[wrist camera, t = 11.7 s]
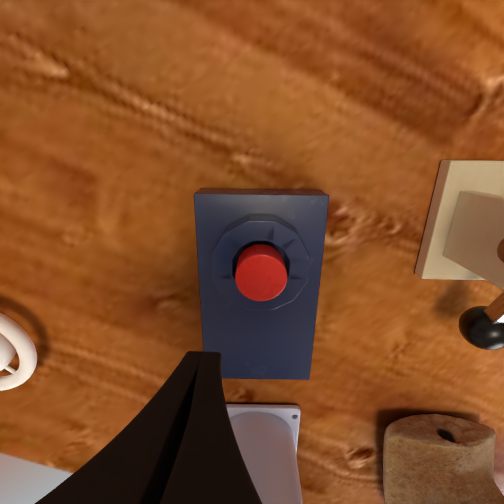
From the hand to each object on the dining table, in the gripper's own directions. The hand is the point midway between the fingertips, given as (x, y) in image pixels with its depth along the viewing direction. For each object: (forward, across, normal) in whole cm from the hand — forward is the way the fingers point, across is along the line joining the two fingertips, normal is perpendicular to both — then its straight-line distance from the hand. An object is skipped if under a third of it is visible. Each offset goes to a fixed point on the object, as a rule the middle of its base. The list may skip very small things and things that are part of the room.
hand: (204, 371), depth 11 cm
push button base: (+10, -2, +1) cm, 10 cm away
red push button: (+6, -2, -2) cm, 7 cm away
